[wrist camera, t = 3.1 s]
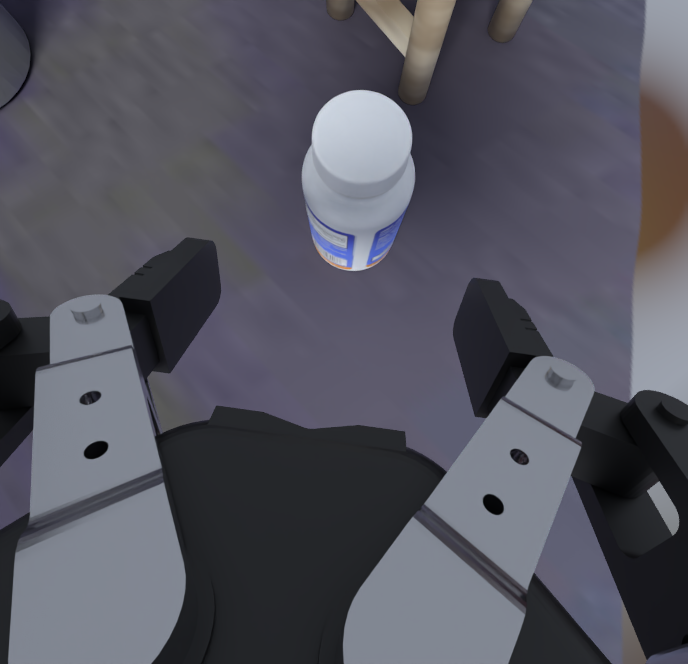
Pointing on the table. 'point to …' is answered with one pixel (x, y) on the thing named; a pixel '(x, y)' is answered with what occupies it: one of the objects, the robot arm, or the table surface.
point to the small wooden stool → (425, 33)
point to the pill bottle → (358, 178)
